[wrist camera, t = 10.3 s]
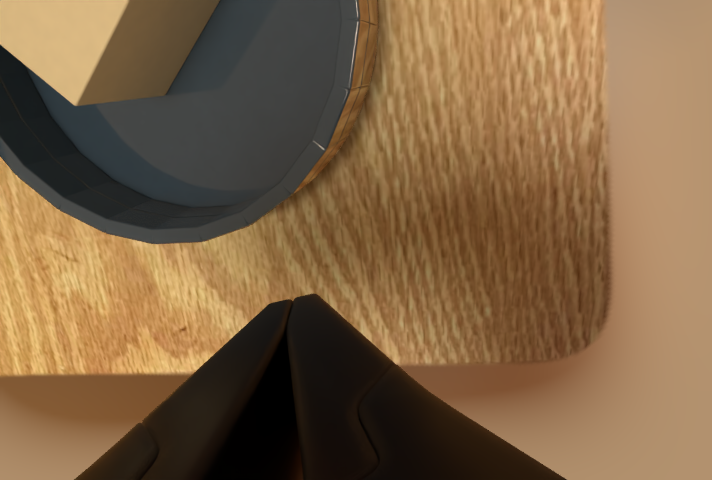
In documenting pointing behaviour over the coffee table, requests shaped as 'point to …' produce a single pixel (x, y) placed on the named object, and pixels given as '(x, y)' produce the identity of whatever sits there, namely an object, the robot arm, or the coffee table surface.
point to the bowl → (201, 124)
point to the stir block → (104, 44)
